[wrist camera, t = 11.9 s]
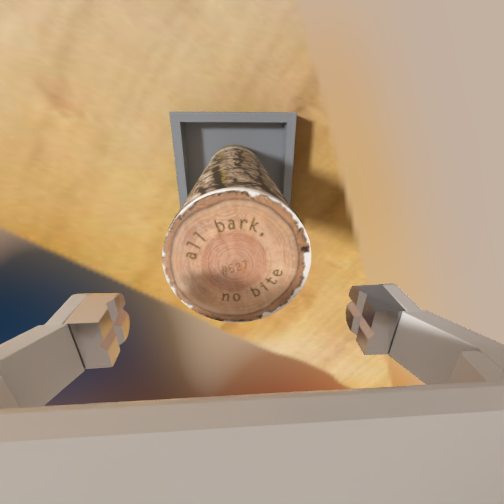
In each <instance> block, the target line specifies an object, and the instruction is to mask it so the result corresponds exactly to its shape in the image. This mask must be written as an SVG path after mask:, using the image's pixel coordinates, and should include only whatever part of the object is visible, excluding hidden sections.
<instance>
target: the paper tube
mask: <svg viewBox="0 0 504 504" xmlns="http://www.w3.org/2000/svg"><path fill="white" fill-rule="evenodd" d="M162 263H163V269H164V273H165V276H166V279H167V281H168V283H169V285H170V287H171V289H172V290H173V292H174V293H175V294H176V296H177V297H178V298H179V299H180V300H181V301H182V302H183V303H184V304H185V305H187V306H188V307H189V308H191V309H192V310H194V311H195V312H197V313H199V314H201V315H203V316H206V317H208V318H211V319H214V320H219V321H225V322H248V321H253V320H257V319H261V318H264V317H267V316H269V315H271V314H273V313H275V312H277V311H279V310H280V309H282V308H283V307H285V306H286V305H287V304H288V303H289V302H291V301H292V300H293V299H294V297H295V296H296V295H297V294H298V293H299V291H300V290H301V288H302V287H303V285H304V283H305V281H306V279H307V276H308V273H309V270H310V265H311V246H310V242H309V238H308V235H307V232H306V230H305V228H304V226H303V224H302V222H301V221H300V219H299V217H298V216H297V214H296V213H295V212H294V210H293V209H292V207H291V206H290V204H289V203H288V201H287V200H286V198H285V197H284V196H283V194H282V193H281V191H280V190H279V188H278V187H277V185H276V184H275V182H274V181H273V179H272V178H271V177H270V175H269V174H268V172H267V171H266V169H265V168H264V166H263V165H262V163H261V162H260V161H259V159H258V158H257V157H256V155H255V154H254V153H253V152H252V151H251V150H249V149H248V148H246V147H243V146H240V145H229V146H225V147H223V148H221V149H220V150H218V151H217V152H216V153H215V154H214V155H213V157H212V158H211V160H210V161H209V163H208V165H207V166H206V168H205V170H204V171H203V173H202V174H201V176H200V178H199V179H198V181H197V183H196V184H195V186H194V187H193V189H192V191H191V192H190V194H189V196H188V197H187V199H186V200H185V202H184V204H183V205H182V207H181V209H180V210H179V212H178V213H177V215H176V217H175V218H174V220H173V222H172V223H171V225H170V227H169V230H168V232H167V235H166V237H165V240H164V245H163V251H162Z"/></svg>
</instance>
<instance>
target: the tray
mask: <svg viewBox="0 0 504 504" xmlns="http://www.w3.org/2000/svg"><path fill="white" fill-rule="evenodd" d="M296 116H297V113H280V112H170V121H171V130H172V138H173V147H174V156H175V164H176V173H177V182H178V191H179V199H180V208H181V207H182V205H183V204H184V202H185V200H186V199H187V197H188V196H189V194H190V192H191V191H192V189H193V187H194V186H195V184H196V183H197V181H198V179H199V178H200V176H201V174H202V173H203V171H204V170H205V168H206V166H207V165H208V163H209V161H210V160H211V158H212V157H213V155H214V154H215V153H216V152H217V151H218V150H220V149H221V148H223V147H225V146H229V145H240V146H243V147H246V148H248V149H249V150H251V151H252V152H253V153H254V154H255V155H256V157H257V158H258V159H259V161H260V162H261V163H262V165H263V166H264V168H265V169H266V171H267V172H268V174H269V175H270V177H271V178H272V179H273V181H274V182H275V184H276V185H277V187H278V188H279V190H280V191H281V193H282V194H283V196H284V197H285V198H286V200H287V201H288V203H289V204H291V190H292V175H293V160H294V146H295V131H296Z"/></svg>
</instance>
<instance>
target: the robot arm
mask: <svg viewBox="0 0 504 504" xmlns="http://www.w3.org/2000/svg"><path fill="white" fill-rule="evenodd" d="M349 297H350V298H351V300H352V301H351V302H350V303H349V304H348V305H347V308H346V321H347V324H348V327H349V329H350V330H351V331H352V332H353V333H355V334H356V335H357V338H356V341H357V343H358V345H359V346H360V348H361V350H362V352H363V353H364V355H376V354H389V356H390V357H392V358H393V359H394V360H395V361H397V362H398V363H399V364H401V365H402V366H403V367H404V368H406V369H407V370H409V371H410V372H411V373H412V374H413V375H415V376H416V377H418V378H419V379H420V380H421V381H423V382H424V383H425V384H426V385H415V386H414V385H413V386H397V387H380V388H361V389H343V390H325V391H305V392H287V393H269V394H252V395H234V396H217V397H199V398H182V399H166V400H165V399H164V400H147V401H128V402H111V403H93V404H77V405H76V404H75V405H58V406H44V405H45V404H46V403H47V402H48V401H50V400H51V399H52V398H53V397H54V396H55V395H57V394H58V393H59V392H60V391H61V390H62V389H64V388H65V387H66V386H67V385H68V384H69V383H71V382H72V381H73V380H74V379H75V378H76V377H78V376H79V375H80V374H81V373H82V372H83V371H85V369H91V368H103V367H112V366H113V365H114V362H115V360H116V358H117V356H118V354H119V352H120V348H119V345H120V344H121V343H123V342H124V341H125V340H126V338H127V335H128V333H129V327H130V322H129V315H128V313H127V312H126V311H124V310H123V309H122V308H123V307H124V305H125V300H124V297H123V295H122V294H121V293H93V294H92V293H91V294H89V293H87V294H74V295H72V296H71V297H70V298H69V299H68V300H67V301H66V302H65V304H63V305H62V307H61V308H60V309H59V310H58V311H57V312H56V313H55V314H54V315H53V316H52V317H51V318H50V319H49V321H48V322H47V323H46V324H45V325H39V326H37V327H35V328H33V329H31V330H29V331H27V332H25V333H23V334H21V335H19V336H17V337H15V338H13V339H11V340H9V341H7V342H5V343H3V344H1V345H0V504H504V345H503V344H501V343H499V342H496V341H494V340H492V339H490V338H487V337H485V336H483V335H481V334H478V333H476V332H474V331H472V330H470V329H467V328H465V327H463V326H461V325H458V324H456V323H454V322H451V321H449V320H447V319H445V318H443V317H440V316H438V315H436V314H434V313H431V312H429V311H426V310H421V309H420V308H419V307H418V306H417V305H416V304H415V303H414V302H413V301H412V300H411V299H410V298H409V297H408V296H407V295H406V294H405V293H404V292H403V291H402V290H401V289H400V288H399V287H398V286H397V285H395V284H379V285H362V286H352V287H351V289H350V293H349Z"/></svg>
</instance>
